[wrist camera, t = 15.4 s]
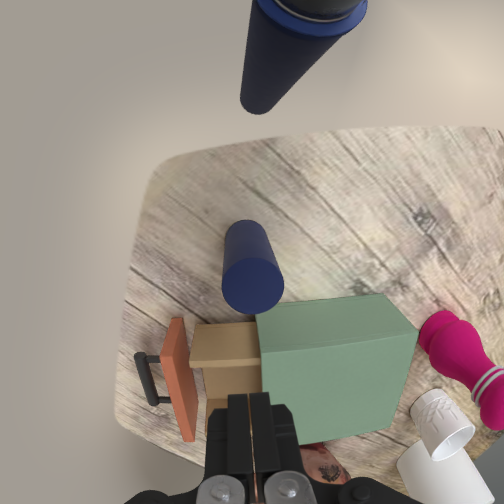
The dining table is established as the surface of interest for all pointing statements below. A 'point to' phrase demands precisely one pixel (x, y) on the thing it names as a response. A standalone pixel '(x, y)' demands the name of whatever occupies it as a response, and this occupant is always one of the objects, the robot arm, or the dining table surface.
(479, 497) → the canister
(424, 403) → the white cup
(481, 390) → the pepper mill
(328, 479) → the decorative planter
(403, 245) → the dining table surface
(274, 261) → the blue cylinder
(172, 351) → the drawer
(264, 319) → the cabinet
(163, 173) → the dining table surface
